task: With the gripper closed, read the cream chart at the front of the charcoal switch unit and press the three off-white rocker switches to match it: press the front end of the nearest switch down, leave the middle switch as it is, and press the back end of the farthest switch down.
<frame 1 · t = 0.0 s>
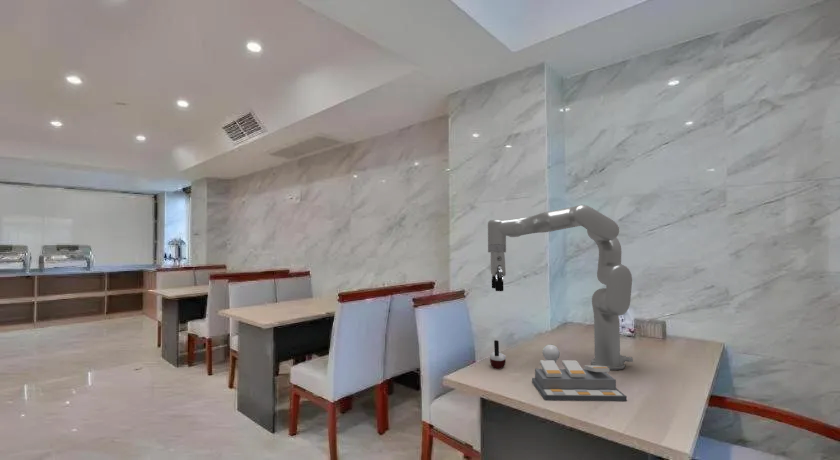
hand: (497, 289, 161), 31 cm above the table, tool pointing down, fingers open, 9 cm apart
lightbulb: (551, 373, 149), on the table
switch c: (550, 368, 134), point 7 cm above the table, hinge at -12.0°
switch a: (596, 368, 133), point 7 cm above the table, hinge at 12.0°
cocoa: (497, 368, 156), on the table
switch b: (573, 368, 133), point 7 cm above the table, hinge at -12.0°
switch unit: (576, 390, 131), on the table
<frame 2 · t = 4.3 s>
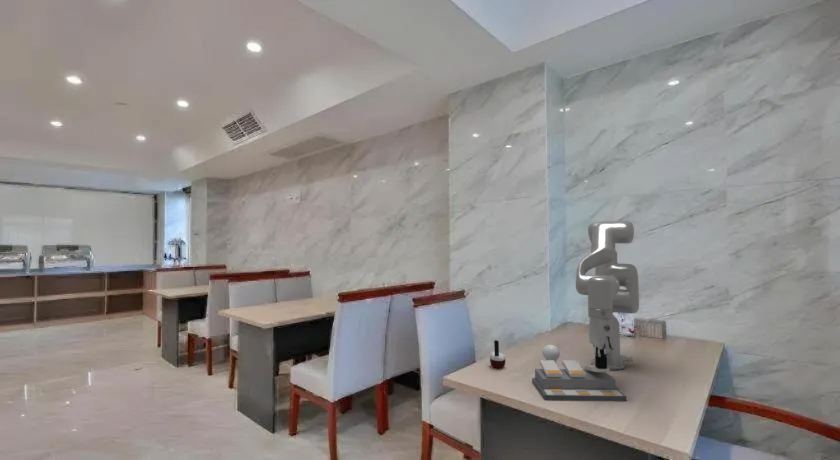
hand: (601, 367, 129), 8 cm above the table, tool pointing down, fingers closed
switch a: (596, 368, 133), point 7 cm above the table, hinge at 11.7°, touching gripper
everything else where it was.
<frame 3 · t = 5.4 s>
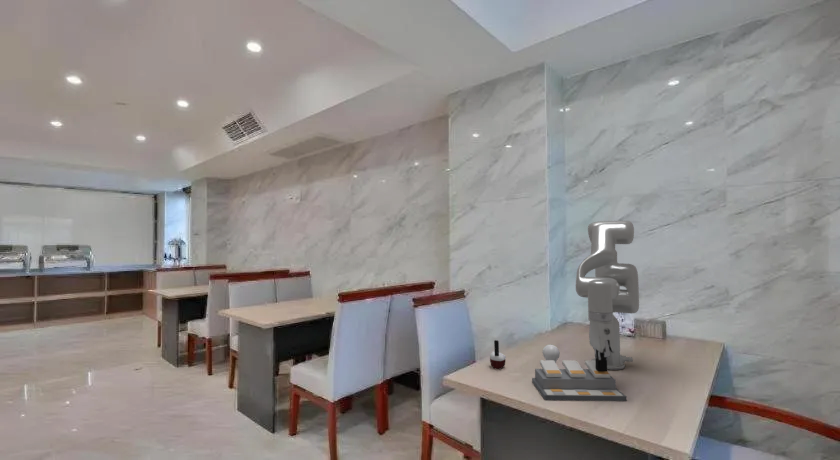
hand: (601, 370, 130), 7 cm above the table, tool pointing down, fingers closed
switch a: (596, 368, 133), point 7 cm above the table, hinge at -12.4°
everything else where it was.
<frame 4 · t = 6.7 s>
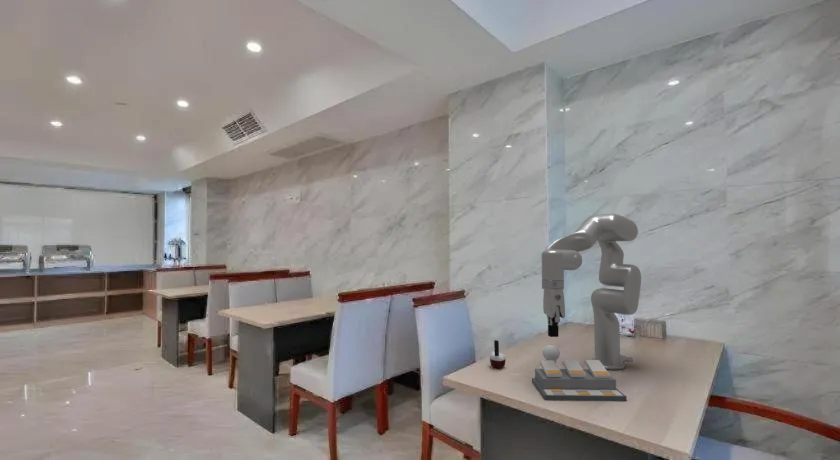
hand: (553, 336, 136), 17 cm above the table, tool pointing down, fingers closed
switch a: (597, 368, 133), point 7 cm above the table, hinge at -16.0°
everything else where it was.
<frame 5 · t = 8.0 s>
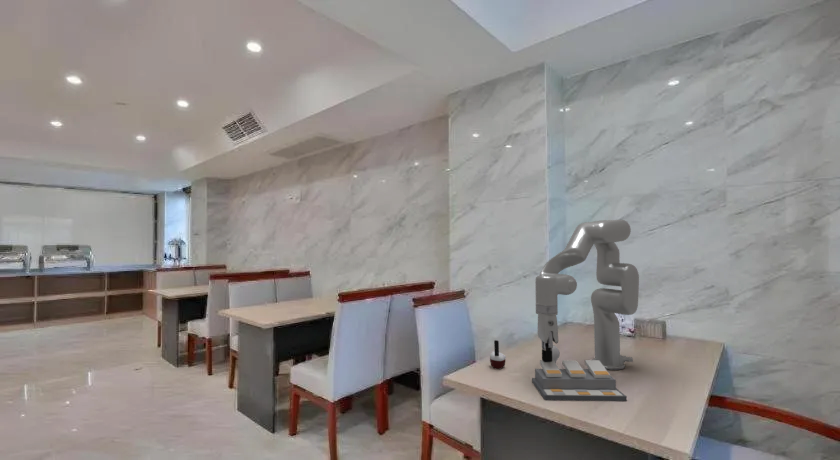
hand: (547, 360, 137), 8 cm above the table, tool pointing down, fingers closed
switch c: (550, 368, 134), point 7 cm above the table, hinge at -12.0°, touching gripper
switch a: (597, 368, 133), point 7 cm above the table, hinge at -14.7°
everything else where it was.
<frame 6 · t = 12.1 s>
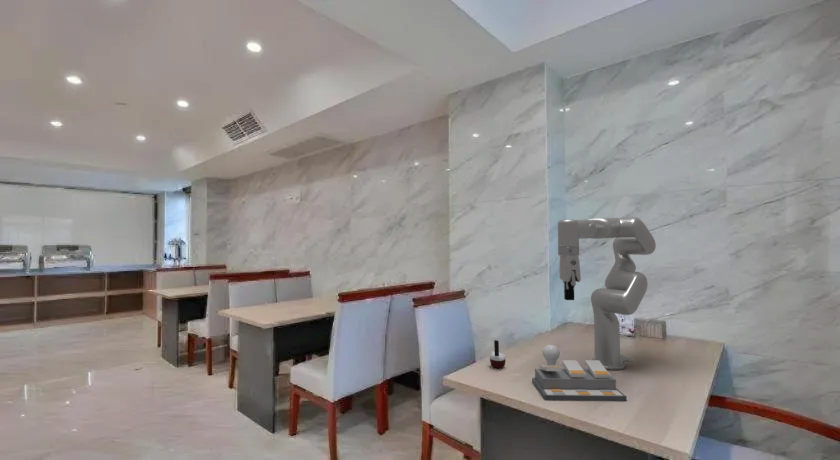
hand: (569, 299, 146), 29 cm above the table, tool pointing down, fingers closed
switch c: (550, 367, 134), point 7 cm above the table, hinge at 13.9°
switch a: (597, 368, 133), point 7 cm above the table, hinge at -14.2°
everything else where it was.
at the end: switch a at -14° (first picture: +12°); switch b at -12° (first picture: -12°); switch c at +14° (first picture: -12°) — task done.
